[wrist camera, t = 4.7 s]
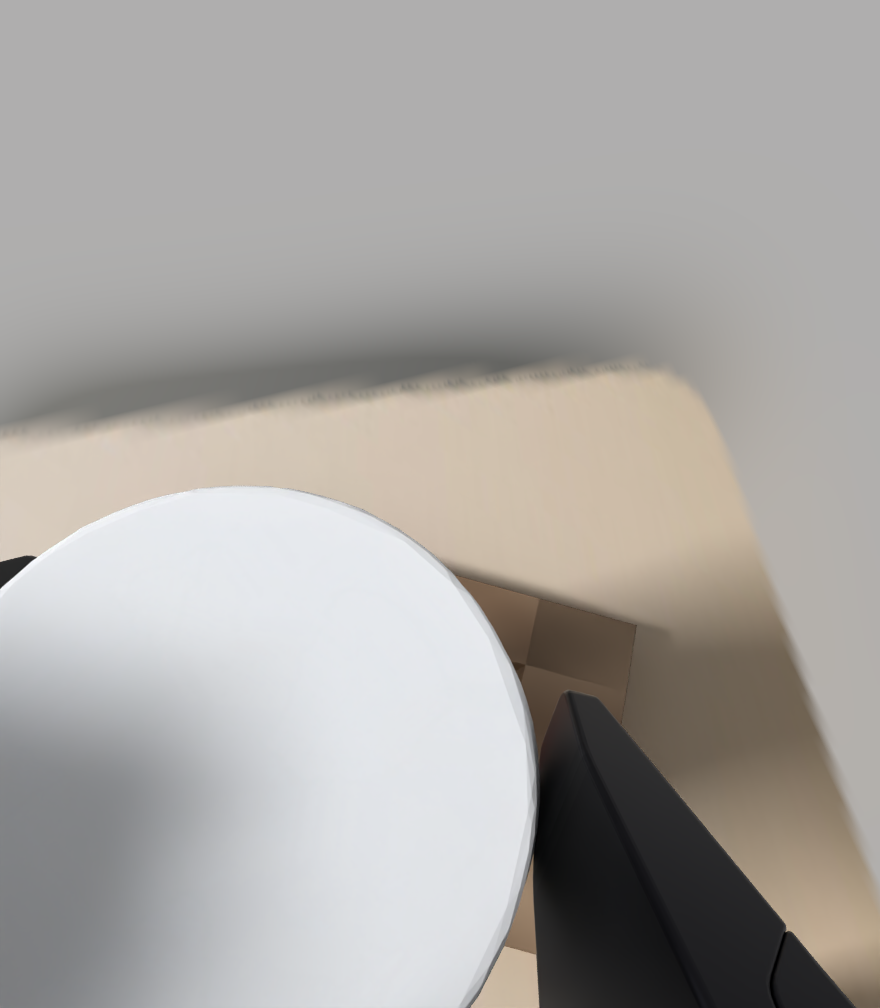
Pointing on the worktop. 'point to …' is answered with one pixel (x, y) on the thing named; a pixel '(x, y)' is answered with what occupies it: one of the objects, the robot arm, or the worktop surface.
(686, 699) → the worktop surface
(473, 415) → the worktop surface
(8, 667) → the pill bottle
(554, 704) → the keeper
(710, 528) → the worktop surface
